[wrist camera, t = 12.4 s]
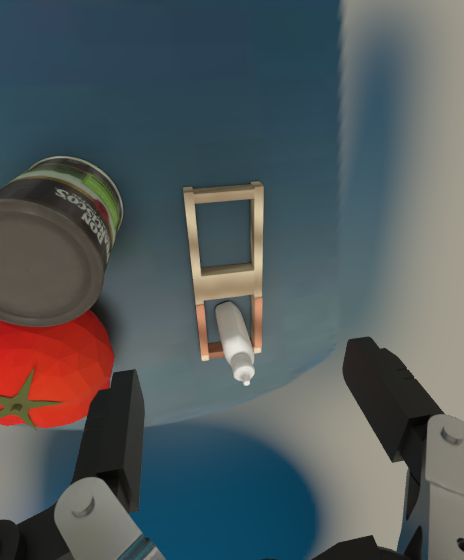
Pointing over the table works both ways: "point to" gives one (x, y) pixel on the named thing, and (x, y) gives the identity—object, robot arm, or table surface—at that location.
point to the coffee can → (55, 240)
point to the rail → (227, 277)
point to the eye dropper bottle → (235, 341)
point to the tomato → (52, 371)
